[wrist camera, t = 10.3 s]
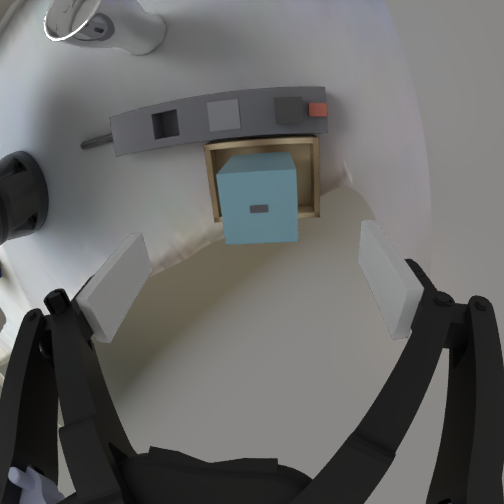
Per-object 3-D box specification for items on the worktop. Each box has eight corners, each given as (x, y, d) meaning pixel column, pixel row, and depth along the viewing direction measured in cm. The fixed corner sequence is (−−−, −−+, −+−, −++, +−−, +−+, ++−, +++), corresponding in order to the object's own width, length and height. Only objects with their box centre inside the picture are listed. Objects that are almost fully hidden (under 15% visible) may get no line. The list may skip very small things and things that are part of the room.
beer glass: (112, 53, 25) (32, 42, 12) (134, 8, 22) (64, -25, 9) (155, 63, 26) (80, 46, 13) (179, 16, 23) (120, -29, 10)
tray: (220, 211, 35) (214, 222, 32) (210, 141, 31) (203, 145, 28) (315, 206, 34) (319, 217, 31) (313, 134, 29) (318, 137, 26)
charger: (241, 200, 33) (225, 245, 23) (235, 151, 31) (216, 174, 20) (290, 197, 33) (298, 241, 23) (288, 148, 30) (296, 169, 20)
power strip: (86, 162, 32) (61, 173, 27) (80, 129, 30) (54, 136, 25) (322, 130, 29) (332, 134, 24) (319, 89, 27) (329, 84, 21)
